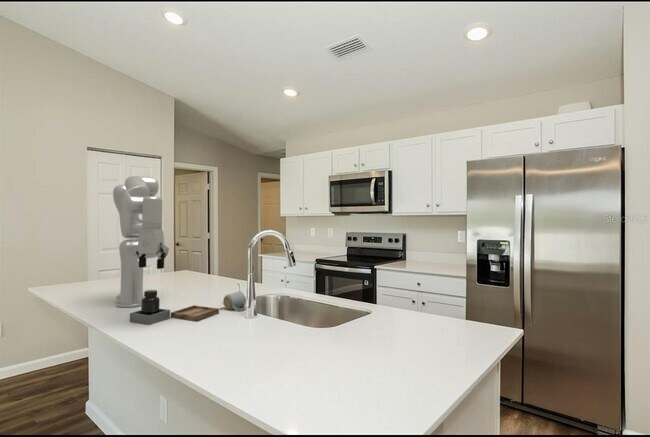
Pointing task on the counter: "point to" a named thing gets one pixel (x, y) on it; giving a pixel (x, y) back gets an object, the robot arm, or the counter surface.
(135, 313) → the gray open box
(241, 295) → the ceramic mug
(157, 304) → the supplement bottle
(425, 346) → the counter surface
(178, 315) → the walnut tray
